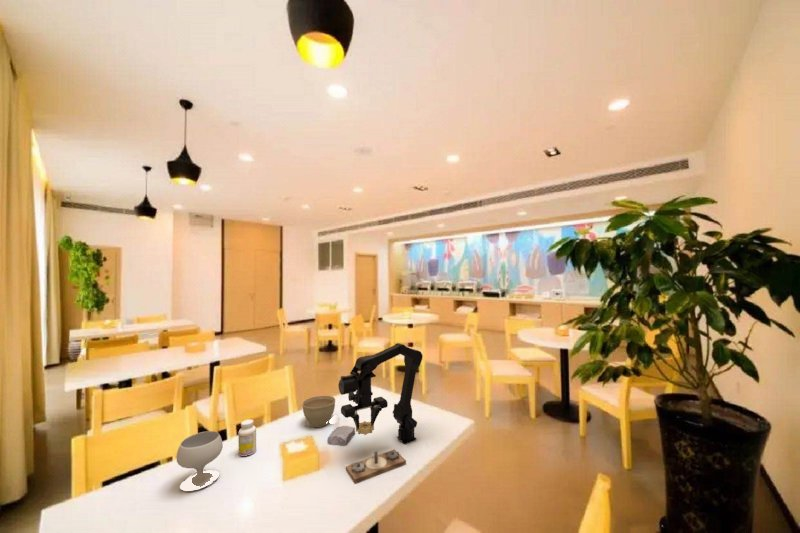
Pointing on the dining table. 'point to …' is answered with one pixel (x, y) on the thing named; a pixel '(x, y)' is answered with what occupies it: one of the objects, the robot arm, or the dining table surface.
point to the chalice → (199, 454)
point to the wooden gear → (365, 428)
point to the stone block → (341, 435)
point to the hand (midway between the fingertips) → (364, 427)
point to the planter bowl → (318, 410)
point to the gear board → (375, 465)
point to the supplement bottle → (247, 438)
